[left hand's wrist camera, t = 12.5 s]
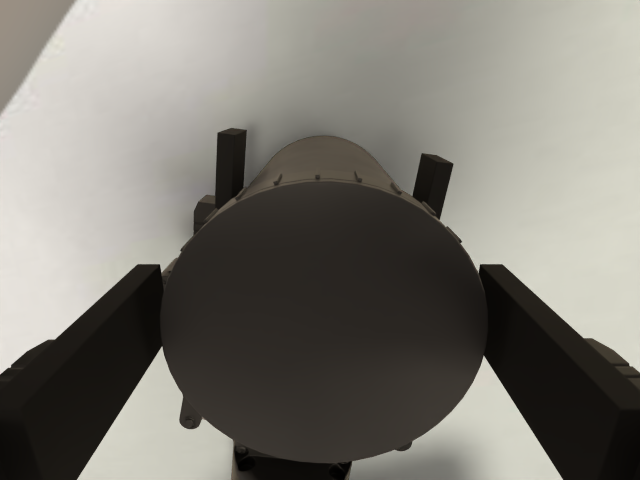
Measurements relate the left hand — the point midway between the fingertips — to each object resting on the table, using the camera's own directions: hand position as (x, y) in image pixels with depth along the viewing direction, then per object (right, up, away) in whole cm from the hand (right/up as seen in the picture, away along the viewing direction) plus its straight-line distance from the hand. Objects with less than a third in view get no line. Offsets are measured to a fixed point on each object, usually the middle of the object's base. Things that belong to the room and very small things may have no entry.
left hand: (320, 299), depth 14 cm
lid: (0, -1, -2) cm, 2 cm away
